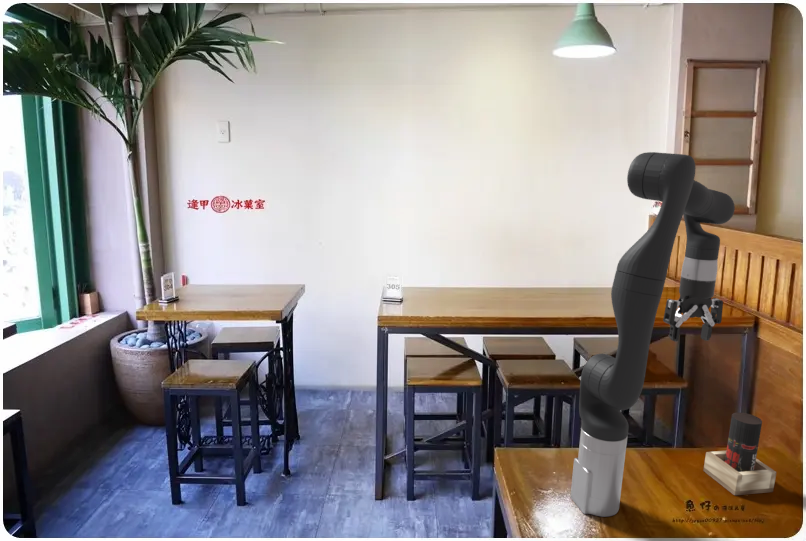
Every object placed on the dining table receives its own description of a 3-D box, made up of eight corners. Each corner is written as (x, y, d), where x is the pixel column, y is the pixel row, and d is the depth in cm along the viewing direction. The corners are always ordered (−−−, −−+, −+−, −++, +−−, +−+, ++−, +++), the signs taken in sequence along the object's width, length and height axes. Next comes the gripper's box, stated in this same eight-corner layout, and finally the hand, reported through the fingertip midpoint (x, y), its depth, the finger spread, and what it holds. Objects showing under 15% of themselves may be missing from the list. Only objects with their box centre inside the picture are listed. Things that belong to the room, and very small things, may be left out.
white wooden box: (734, 495, 124) (737, 475, 123) (703, 470, 133) (706, 452, 132) (772, 491, 126) (776, 472, 125) (739, 467, 135) (742, 449, 134)
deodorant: (725, 467, 133) (734, 410, 130) (753, 476, 130) (763, 417, 127) (720, 477, 129) (729, 418, 126) (750, 487, 125) (760, 427, 122)
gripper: (682, 280, 128) (673, 346, 131) (736, 279, 131) (726, 344, 134) (662, 273, 135) (654, 336, 139) (713, 272, 138) (704, 334, 141)
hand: (689, 340), depth 136 cm, fingers open, 8 cm apart
